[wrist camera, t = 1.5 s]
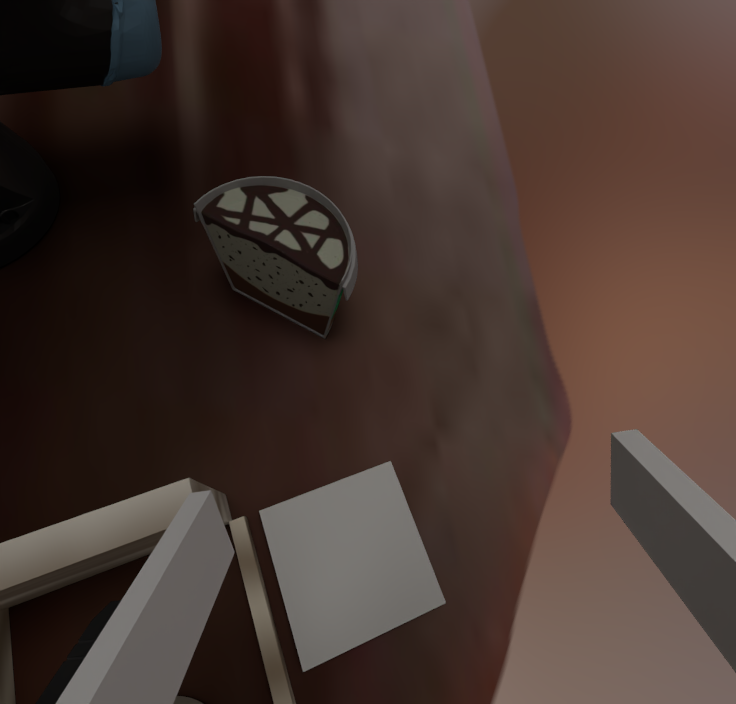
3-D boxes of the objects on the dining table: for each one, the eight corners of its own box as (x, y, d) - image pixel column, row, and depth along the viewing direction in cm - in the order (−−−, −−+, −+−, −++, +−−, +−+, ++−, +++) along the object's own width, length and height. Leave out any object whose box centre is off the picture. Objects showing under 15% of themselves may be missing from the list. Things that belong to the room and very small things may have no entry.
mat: (260, 511, 31) (259, 511, 30) (388, 462, 33) (390, 460, 32) (303, 667, 27) (303, 672, 26) (441, 600, 30) (445, 603, 29)
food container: (373, 294, 39) (392, 220, 30) (340, 347, 36) (349, 284, 27) (257, 233, 40) (240, 144, 31) (217, 281, 37) (186, 200, 28)
